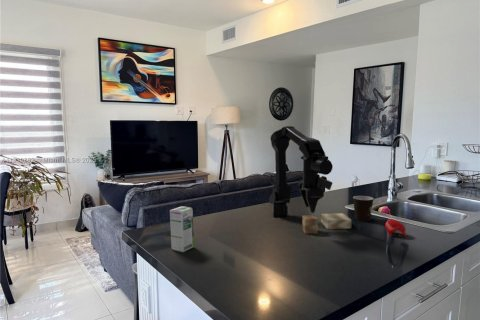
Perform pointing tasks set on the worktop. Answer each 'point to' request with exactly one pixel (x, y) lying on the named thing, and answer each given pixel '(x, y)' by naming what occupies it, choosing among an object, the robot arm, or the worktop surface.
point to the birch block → (336, 221)
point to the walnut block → (310, 224)
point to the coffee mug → (363, 208)
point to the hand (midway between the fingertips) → (309, 209)
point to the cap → (394, 227)
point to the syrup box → (182, 228)
